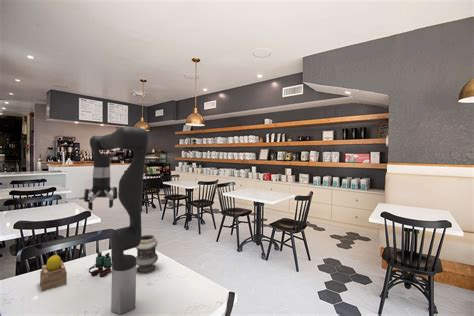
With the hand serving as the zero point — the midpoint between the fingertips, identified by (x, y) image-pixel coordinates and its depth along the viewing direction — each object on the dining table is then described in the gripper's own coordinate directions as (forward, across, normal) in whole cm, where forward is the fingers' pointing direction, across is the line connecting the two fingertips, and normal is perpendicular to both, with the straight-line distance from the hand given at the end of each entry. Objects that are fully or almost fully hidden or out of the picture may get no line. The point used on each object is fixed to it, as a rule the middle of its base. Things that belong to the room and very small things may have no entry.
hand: (100, 208), depth 115 cm
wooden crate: (+36, -17, +11) cm, 41 cm away
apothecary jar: (+36, +22, -4) cm, 43 cm away
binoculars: (+36, +2, +6) cm, 37 cm away
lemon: (+30, -17, +11) cm, 36 cm away
